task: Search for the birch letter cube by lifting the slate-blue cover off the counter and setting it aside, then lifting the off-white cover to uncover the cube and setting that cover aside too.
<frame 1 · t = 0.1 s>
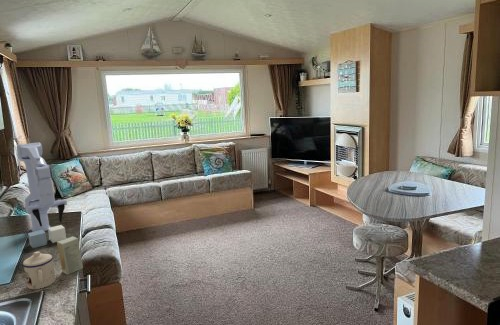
hand: (50, 223, 160), 10 cm above the worktop, tool pointing down, fingers open, 7 cm apart
letter cube: (57, 235, 168), in the cover b
cover a: (38, 244, 164), on the worktop
teacup with lid: (42, 285, 127), on the worktop
cover b: (58, 239, 169), on the worktop
skincare box: (72, 270, 137), on the worktop
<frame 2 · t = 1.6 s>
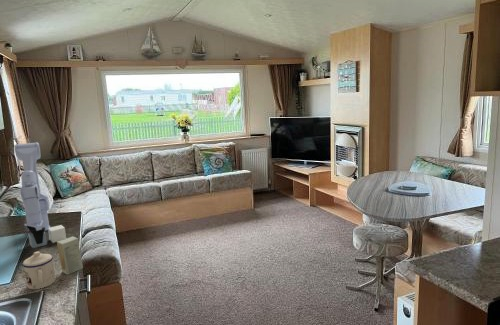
hand: (38, 241, 163), 1 cm above the worktop, tool pointing down, fingers closed on cover a, 6 cm apart
cover a: (38, 244, 164), on the worktop, touching gripper
everything else where it was.
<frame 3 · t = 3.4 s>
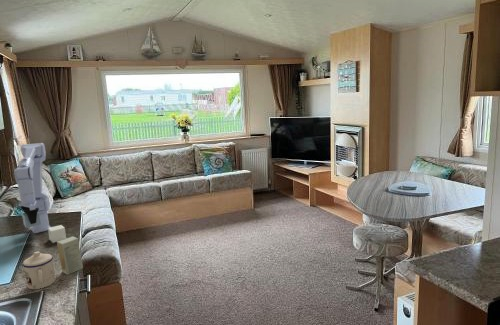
hand: (31, 221, 168), 9 cm above the worktop, tool pointing down, fingers closed on cover a, 6 cm apart
cover a: (32, 224, 168), point 7 cm above the worktop, touching gripper
everything else where it was.
when the fingers open (3 cm above the worktop, at t = 5.2 s): cover a drops 1 cm, on the worktop.
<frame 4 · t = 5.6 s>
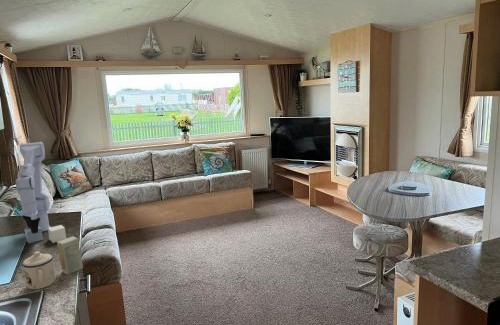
hand: (33, 230, 169), 4 cm above the worktop, tool pointing down, fingers open, 7 cm apart
cover a: (34, 239, 170), on the worktop
everything else where it was.
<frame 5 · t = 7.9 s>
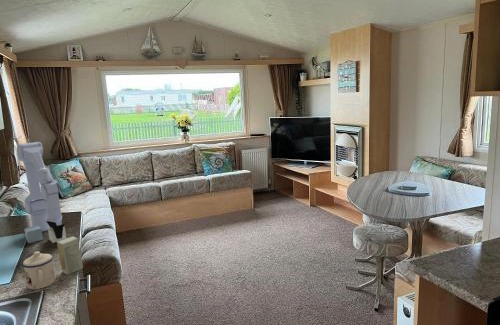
hand: (57, 236, 169), 1 cm above the worktop, tool pointing down, fingers closed on cover b, 6 cm apart
cover b: (58, 239, 169), on the worktop, touching gripper
everything else where it was.
when the fingers open (3 cm above the worktop, at t = 11.3 s): cover b drops 1 cm, on the worktop.
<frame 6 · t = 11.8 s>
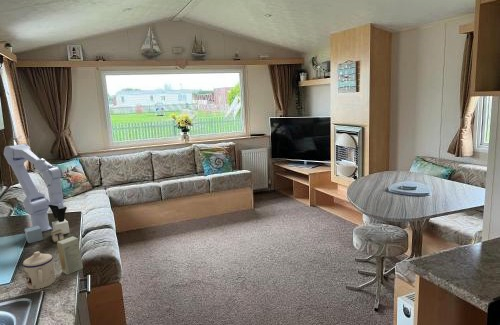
hand: (59, 219, 176), 7 cm above the worktop, tool pointing down, fingers open, 7 cm apart
cover b: (61, 232, 177), on the worktop
everything else where it was.
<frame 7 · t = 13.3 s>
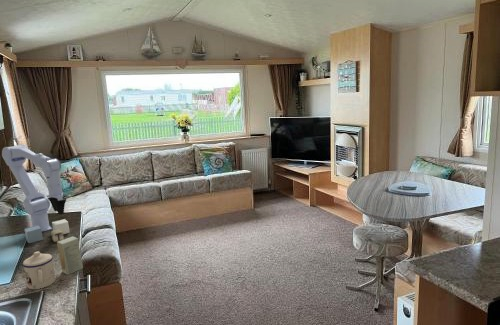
hand: (59, 212, 175), 10 cm above the worktop, tool pointing down, fingers open, 7 cm apart
nothing on the worktop moved.
at the end: cover a moved 8.0 cm from its start; cover b moved 8.8 cm from its start; cover b tilted 0° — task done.
